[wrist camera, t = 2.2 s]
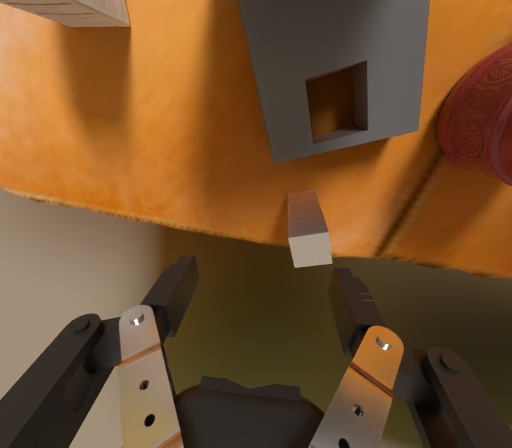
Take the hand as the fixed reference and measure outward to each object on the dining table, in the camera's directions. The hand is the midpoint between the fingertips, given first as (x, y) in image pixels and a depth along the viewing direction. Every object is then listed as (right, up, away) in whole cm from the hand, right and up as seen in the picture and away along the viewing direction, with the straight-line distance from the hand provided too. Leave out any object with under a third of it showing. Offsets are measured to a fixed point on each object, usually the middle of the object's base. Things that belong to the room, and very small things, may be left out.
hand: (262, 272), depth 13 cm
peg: (+7, +6, +20) cm, 22 cm away
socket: (+7, +21, +11) cm, 25 cm away
